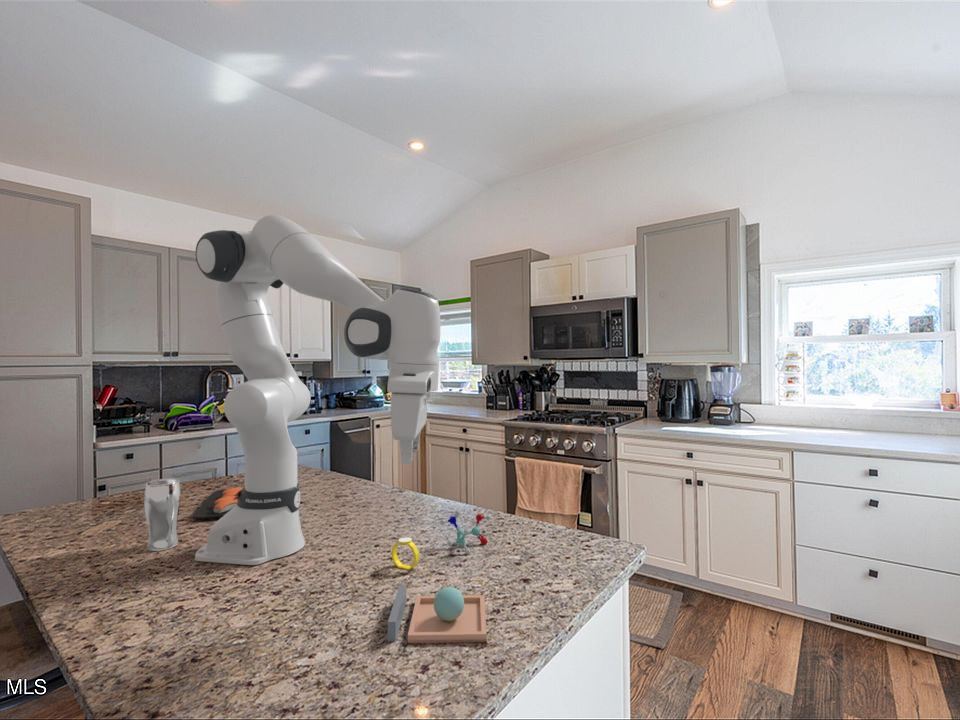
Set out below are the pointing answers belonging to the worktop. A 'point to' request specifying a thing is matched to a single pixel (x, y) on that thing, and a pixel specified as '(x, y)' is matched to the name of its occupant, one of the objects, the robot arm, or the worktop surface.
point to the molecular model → (462, 534)
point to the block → (396, 613)
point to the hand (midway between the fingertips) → (409, 457)
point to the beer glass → (162, 513)
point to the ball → (448, 603)
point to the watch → (416, 553)
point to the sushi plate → (218, 504)
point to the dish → (448, 622)
